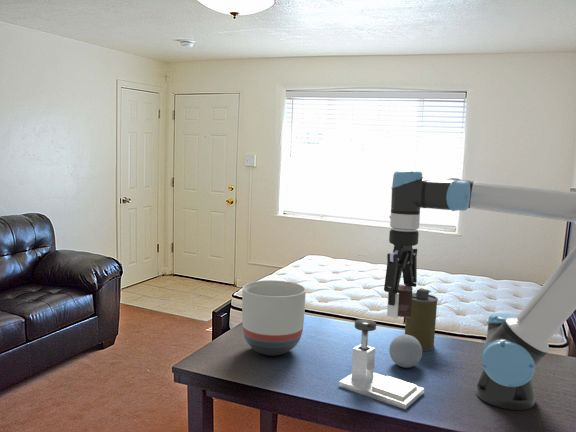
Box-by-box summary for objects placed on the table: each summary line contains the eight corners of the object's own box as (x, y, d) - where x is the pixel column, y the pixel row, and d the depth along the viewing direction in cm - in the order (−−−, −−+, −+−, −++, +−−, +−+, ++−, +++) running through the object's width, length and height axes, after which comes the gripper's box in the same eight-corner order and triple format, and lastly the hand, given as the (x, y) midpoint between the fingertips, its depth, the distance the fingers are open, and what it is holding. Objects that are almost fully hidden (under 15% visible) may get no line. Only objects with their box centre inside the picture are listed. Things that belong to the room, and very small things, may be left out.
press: (423, 393, 141) (426, 357, 140) (405, 409, 132) (408, 370, 130) (360, 372, 153) (362, 339, 152) (339, 386, 144) (340, 350, 142)
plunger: (377, 367, 146) (380, 322, 144) (367, 374, 141) (369, 327, 140) (358, 362, 150) (361, 317, 148) (348, 368, 145) (350, 322, 143)
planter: (307, 343, 175) (309, 283, 173) (297, 367, 155) (300, 299, 153) (249, 338, 179) (251, 278, 176) (233, 360, 159) (235, 293, 156)
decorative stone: (424, 364, 161) (426, 334, 160) (416, 375, 153) (418, 343, 152) (393, 357, 166) (395, 327, 165) (384, 368, 157) (386, 336, 156)
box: (411, 318, 134) (412, 291, 133) (387, 316, 135) (389, 289, 134) (410, 311, 140) (412, 285, 139) (388, 309, 141) (389, 283, 140)
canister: (438, 344, 179) (442, 289, 177) (429, 353, 170) (433, 295, 168) (408, 337, 185) (411, 284, 183) (397, 346, 176) (401, 289, 174)
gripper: (407, 224, 145) (402, 302, 148) (372, 231, 129) (368, 318, 132) (432, 227, 141) (427, 307, 143) (400, 234, 124) (395, 325, 127)
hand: (399, 312), depth 137 cm, fingers closed on box, 8 cm apart
